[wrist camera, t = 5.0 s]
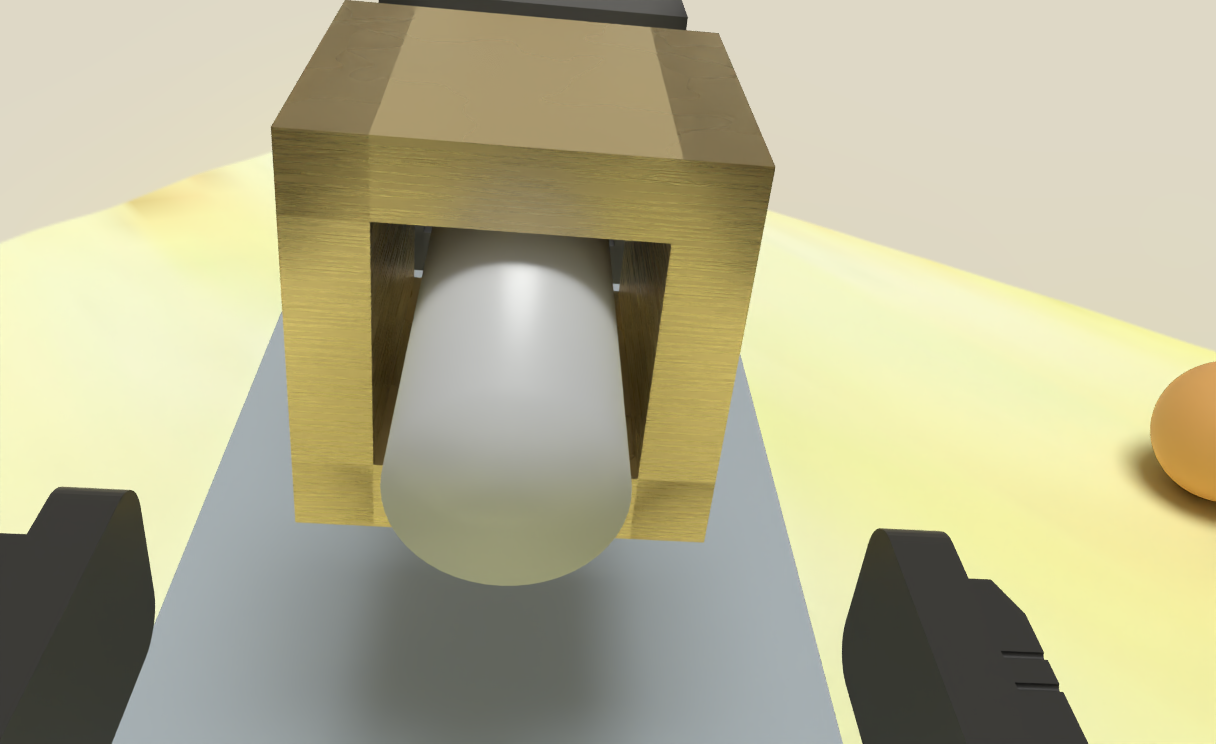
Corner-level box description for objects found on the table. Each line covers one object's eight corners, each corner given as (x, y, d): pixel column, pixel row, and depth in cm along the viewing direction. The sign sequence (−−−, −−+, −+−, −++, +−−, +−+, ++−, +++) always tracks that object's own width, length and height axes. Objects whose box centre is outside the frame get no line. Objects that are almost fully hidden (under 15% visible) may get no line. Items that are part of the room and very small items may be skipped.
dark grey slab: (639, 209, 28) (669, -34, 25) (651, 286, 25) (687, 17, 22) (401, 191, 28) (402, -59, 24) (380, 267, 24) (378, -11, 21)
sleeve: (671, 346, 23) (718, 33, 20) (703, 542, 18) (774, 166, 15) (352, 326, 23) (345, 0, 19) (295, 522, 18) (271, 127, 14)
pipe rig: (709, 269, 41) (789, -214, 33) (884, 969, 20) (1253, 67, 11) (319, 242, 40) (298, -267, 32) (40, 956, 18) (-263, -71, 10)
